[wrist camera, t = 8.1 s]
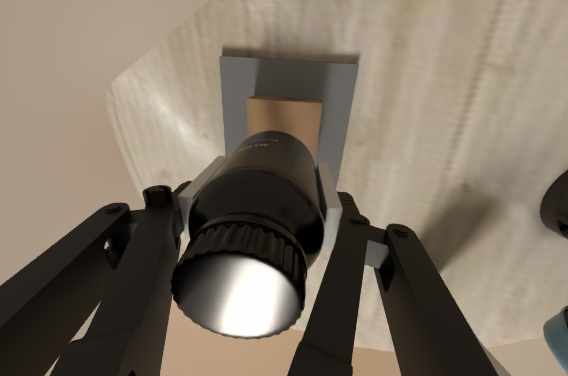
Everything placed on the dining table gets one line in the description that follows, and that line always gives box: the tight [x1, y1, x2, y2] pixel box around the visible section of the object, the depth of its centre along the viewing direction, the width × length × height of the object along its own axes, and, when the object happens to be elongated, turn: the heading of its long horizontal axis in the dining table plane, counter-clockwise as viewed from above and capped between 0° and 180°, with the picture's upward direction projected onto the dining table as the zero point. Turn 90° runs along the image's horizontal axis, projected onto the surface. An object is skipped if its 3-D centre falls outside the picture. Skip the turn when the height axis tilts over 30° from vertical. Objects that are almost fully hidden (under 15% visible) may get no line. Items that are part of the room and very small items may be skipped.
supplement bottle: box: [170, 130, 325, 339], centre depth 13 cm, size 7×7×12 cm
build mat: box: [220, 56, 358, 188], centre depth 33 cm, size 18×18×1 cm
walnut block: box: [246, 96, 322, 162], centre depth 30 cm, size 9×9×5 cm
